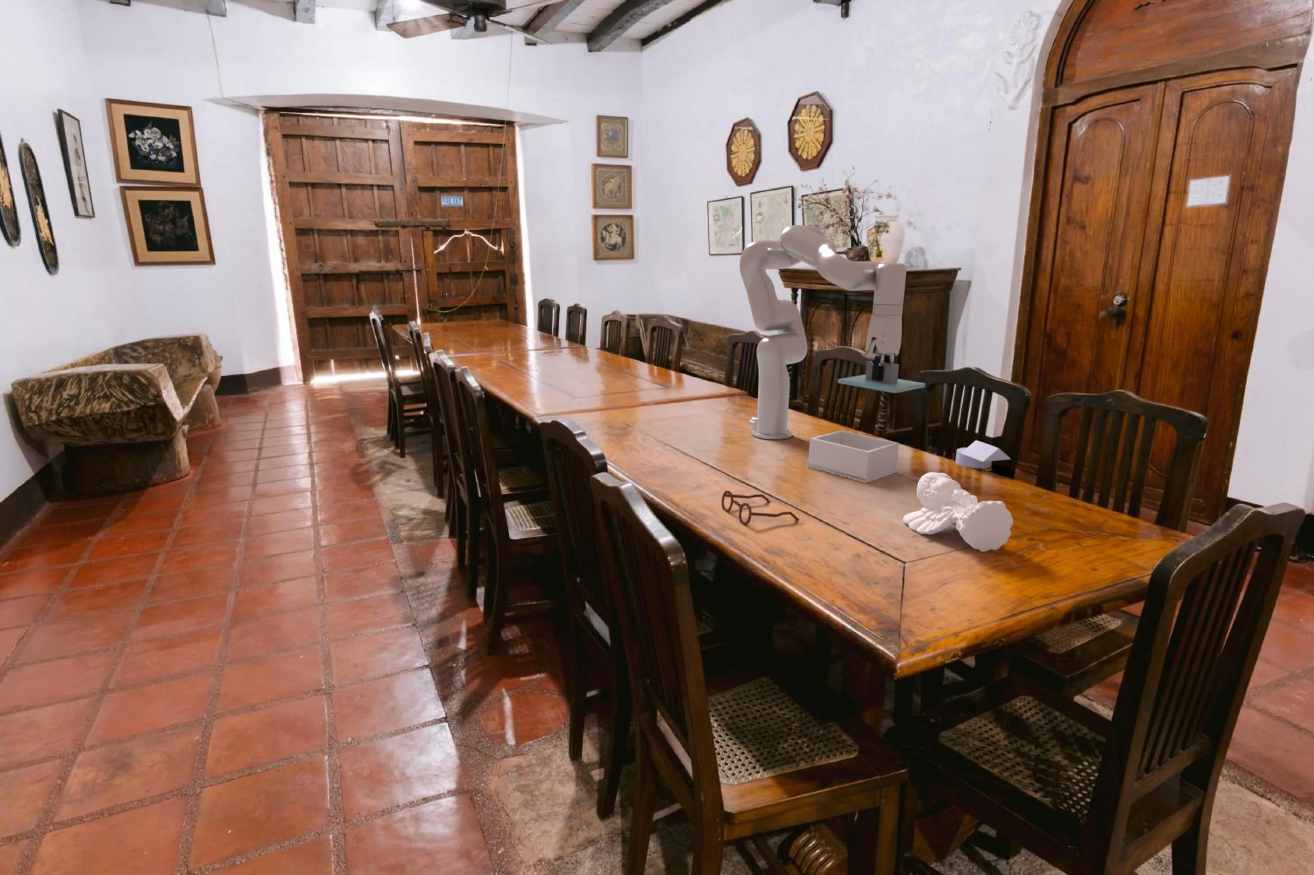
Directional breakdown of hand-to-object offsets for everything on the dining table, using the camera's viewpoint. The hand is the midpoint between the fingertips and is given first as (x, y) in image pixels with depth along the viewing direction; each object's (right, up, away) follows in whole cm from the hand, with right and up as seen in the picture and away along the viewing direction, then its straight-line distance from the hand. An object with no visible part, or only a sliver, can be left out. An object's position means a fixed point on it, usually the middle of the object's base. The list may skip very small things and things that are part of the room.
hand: (881, 378), depth 192 cm
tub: (-9, -25, -3) cm, 26 cm away
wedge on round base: (+27, -24, +1) cm, 36 cm away
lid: (0, -2, 0) cm, 2 cm away
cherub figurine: (-1, -36, -47) cm, 59 cm away
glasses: (-38, -33, -35) cm, 62 cm away
